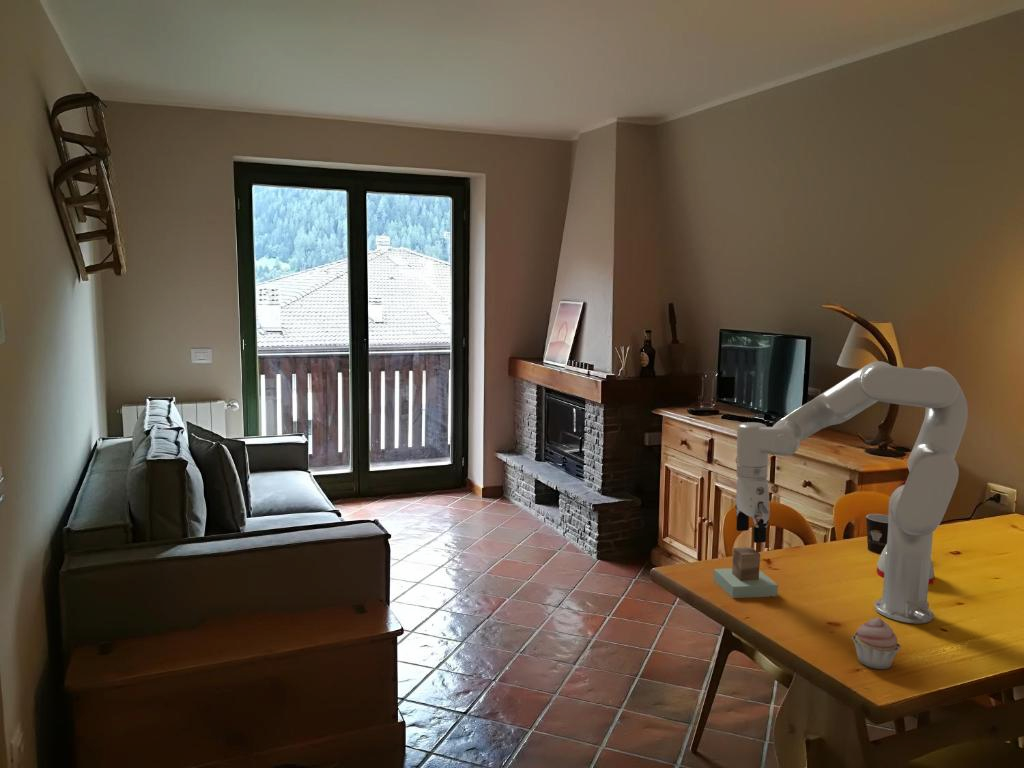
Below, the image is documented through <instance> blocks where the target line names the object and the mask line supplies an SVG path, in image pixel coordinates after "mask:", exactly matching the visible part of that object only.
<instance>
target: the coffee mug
mask: <svg viewBox="0 0 1024 768" xmlns="http://www.w3.org/2000/svg"><path fill="white" fill-rule="evenodd" d="M888 516H889V514H888V515H887V514H880V513H869V514H866V515H865V520H866V522H865V524H866V541H867V550H868V551H869V552H870V553H874V554H878V555H881V553H882V551H883V549H884V548H885V545H886V544H887V537H888Z"/></svg>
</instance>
